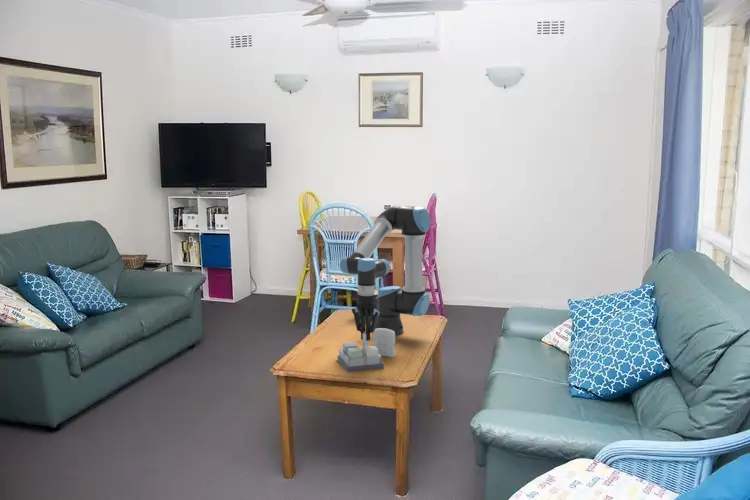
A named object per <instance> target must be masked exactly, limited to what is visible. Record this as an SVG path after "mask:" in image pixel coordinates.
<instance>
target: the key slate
mask: <svg viewBox="0 0 750 500" xmlns="http://www.w3.org/2000/svg"><path fill="white" fill-rule="evenodd" d="M355 347H358V345H357V343H355V342H346V343H345V342H344V343H343V344H342V349H343V351H344V353H345V354H348V348H355Z"/></svg>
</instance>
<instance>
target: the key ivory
mask: <svg viewBox="0 0 750 500" xmlns="http://www.w3.org/2000/svg"><path fill="white" fill-rule="evenodd" d="M363 355H365V356H366V357H376V356H378V349H377V348H376V347H375V346H373V345H368V346H366V347H363Z"/></svg>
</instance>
